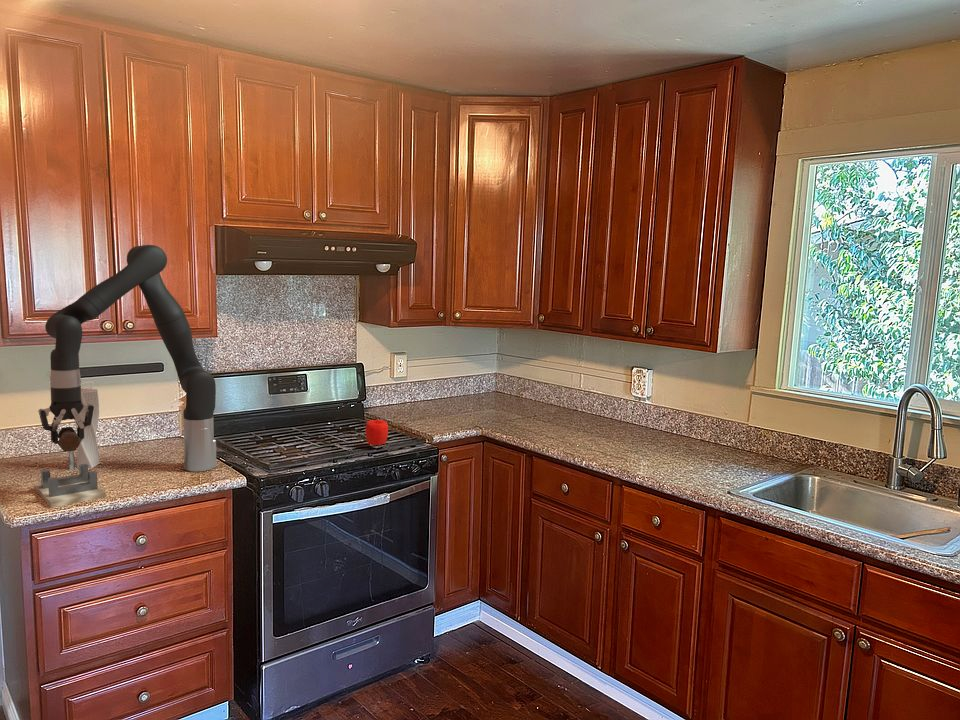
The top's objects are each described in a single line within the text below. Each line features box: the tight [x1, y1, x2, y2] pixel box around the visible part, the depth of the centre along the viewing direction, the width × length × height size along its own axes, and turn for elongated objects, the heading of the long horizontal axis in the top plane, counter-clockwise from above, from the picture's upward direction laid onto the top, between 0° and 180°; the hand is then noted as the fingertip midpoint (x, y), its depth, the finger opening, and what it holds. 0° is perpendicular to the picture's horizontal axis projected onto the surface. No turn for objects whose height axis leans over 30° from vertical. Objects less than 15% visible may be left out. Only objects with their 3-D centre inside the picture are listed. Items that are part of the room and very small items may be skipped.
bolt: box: [57, 426, 81, 452], centre depth 203 cm, size 6×5×15 cm
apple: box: [364, 419, 389, 445], centre depth 268 cm, size 9×9×11 cm
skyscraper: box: [67, 381, 101, 471], centre depth 229 cm, size 8×8×28 cm
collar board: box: [33, 482, 107, 508], centre depth 205 cm, size 14×20×2 cm
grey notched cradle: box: [40, 464, 99, 497], centre depth 205 cm, size 12×11×5 cm
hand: (67, 441), depth 203 cm, fingers closed on bolt, 5 cm apart
